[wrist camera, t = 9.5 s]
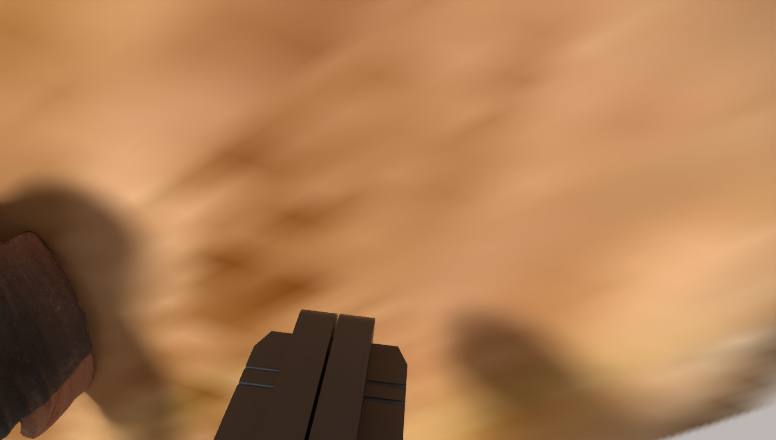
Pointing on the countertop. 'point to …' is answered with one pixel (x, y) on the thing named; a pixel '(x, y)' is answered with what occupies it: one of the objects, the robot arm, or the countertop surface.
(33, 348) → the pottery mug
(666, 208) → the countertop surface
